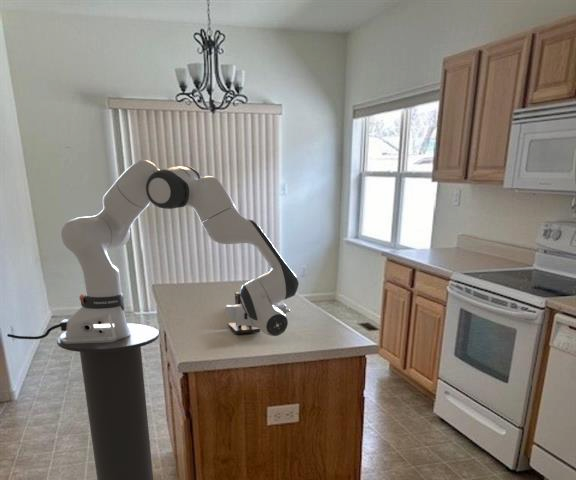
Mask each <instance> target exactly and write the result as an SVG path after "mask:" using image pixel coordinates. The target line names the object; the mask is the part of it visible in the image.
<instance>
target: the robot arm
mask: <svg viewBox="0 0 576 480" xmlns="http://www.w3.org/2000/svg"><path fill="white" fill-rule="evenodd" d="M151 203H152V204H153V205H154V206H155V207H157V208H159V209H164V210H173V209H178V208H184V207H186V206H188V207H190V208H192V210H194V211H195V213H196V215H197V217H198V219H199V221H200V223H201V225H202V227H203V228H204V230H205V232H206V233H207V235H208V237H209V238H210V239H211V240H212V241H214V242H215V243H218V244H221V245H236V244H238V245H239V244H248V245H252V246H254V247H255V248H256V249H257V250H258V251H259V253H260V254H261V255H262V257H263V258H264V259H265V261H266V262H267V264H268V265H269V267H270V271H268V272H266V273H264V274H262V275H260V276H258V277H256V278H254V279H251V280H250V281H248V282H246V283H244V284H242V285H241V288H240V291H239V293H240V296H239V298H240V302H241V304H237V305H235V304H227V305H226V307H225V314H226V317H227V318H228V319H229V320H230V321H232V322H234V323H236V324H237V325H241V326H253V327H258V328H259V329H260V332H262V333H264V334H265V335H266V336H270V337H279V336H280V335H282V334H284V332H285V331H286V330H287V328H288V325H289V320H288V318H287V316H286V314H288V313H290V312H291V309H290V308H288V307H287V305H286V303H285V302H284V300H287V299H290V298H292V297H294V296H296V294H297V291H298V289H299V284H300V283H299V279H298V277H297V275H296V274H295V272H294V271H293V269H291V268H290V267H289V265H288V264H287V263H286V261H285V260H284V259H283V257H282V256H281V254H280V252H278V250H277V248H276V247H275V245H274V244H273V243H272V242H271V240H270V239H269V237H268V236H267V235H266V233H265V232H264V231H263V229H262V228H261V227H260V226H259V225H258V223H256V222H255V221H254V220H253V219H247V218H246V217H244V216H243V215H242V214H241V213H240V212H239V211H238V209H237V207H236V205H235V203H234V201H233V199H232V198H231V196H230V194H229V193H228V191H227V189H226V188H225V187H224V185H223V183H221V181H220V180H219V179H218V178H217V177H215V176H211V175H207V176H202V174H201V173H200V172H199V171H198V170H197V169H195V168H193V167H191V166H186V165H181V166H170V167H167V168H161V169H160V168H159V167H158V166H157V165H156V164H155V163H154V162H151V161H150V160H147V159H139V160H137V161H136V162H134V163H133V164H132V165H130V166H129V167H128V168H126V170H124V171H123V173H122V174H120V175H119V177H118V178H117V180H115V182H114V183H113V184H112V186H110V188H109V189H108V190H107V191H106V193H105V194H104V195H103V197H102V206H103V207H102V210H101V211H100V212H99V213H97V214H96V215H92V216H90V215H89V216H78V217H75V218H73V219H70V220H67V221H66V222H65V223H64V224H63V225H62V228H61V232H60V233H61V234H60V235H61V240H62V243H63V245H64V246H65V247H66V249H67V250H68V251H70V252H71V253H72V254H73V255H74V256H75V258H76V259H77V261H78V262H79V265H80V267H81V270H82V273H83V279H84V285H85V292H86V294H80V295H79V300H80V305H81V307H80V308H79V309H78V310H76V311H75V312H74V313H72V315H71V316H70V317H69V318H64V319H62V320H61V321H60V322H59V324H55V325H53V326H51V327H49V328H48V329H47V330H46V331H45V333H44V334H42V335H36V336H30V335H29V336H27V335H26V336H25V335H15V334H11V333H8V334H7V335H6V337H8V338H13V339H16V340H17V339H18V340H40V339H41V340H42V339H44V338H46V337H48V336H49V334H50V333H51V331H53V330H55V329H57V328H60V330H61V332H62V333H61V334H60V335H61V336H60V335H59V336H60V340H61V342H62V343H65V344H78V343H107V342H114V341H116V340H118V339H122V338H125V337H127V336H129V335H130V334H131V332H130V330H129V328H128V325H127V324H128V322H127V318H126V313H125V308H126V306H125V297H124V294H123V292H122V286H121V285H122V284H121V283H122V282H121V274H120V273H121V272H120V269H119V268H118V267H117V266H115V264H113V263H112V261H111V259H110V256H109V255H108V251H113V250H117V249H119V248H120V247H123V246H125V245H126V244H127V243H128V242H129V240H130V237H131V230H130V229H131V227H132V226H133V224H134V223H135V221H136V220H137V219H138V218H139V217H140V215H141V214H142V213H143V212H144V210H146V209H147V207H149V205H150V204H151Z"/></svg>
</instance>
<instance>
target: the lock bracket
mask: <svg viewBox="0 0 576 480" xmlns="http://www.w3.org/2000/svg"><path fill="white" fill-rule="evenodd" d="M239 296H240V291H234V305H237V304H241V302H240V298H239ZM227 326H228V327H229V328H230V330H231V331H232V332H234V333H235V335H241V334H253V333H261V330H260V329H259V328H258V327H253V326H241V325H237V324H236V322H228V324H227Z"/></svg>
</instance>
